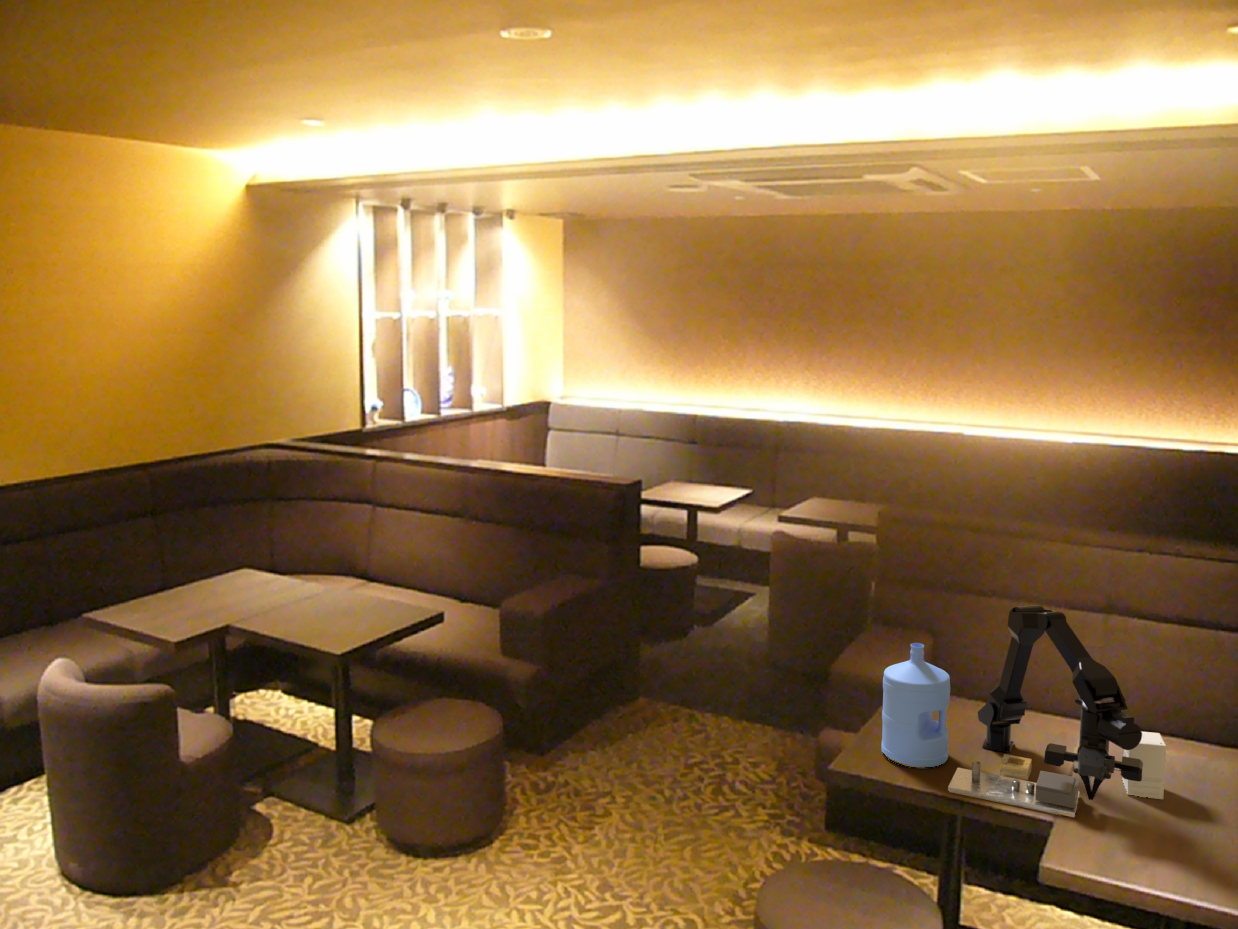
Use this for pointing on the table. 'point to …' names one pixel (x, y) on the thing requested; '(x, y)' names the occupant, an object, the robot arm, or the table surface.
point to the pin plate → (1002, 790)
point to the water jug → (915, 711)
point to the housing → (1057, 789)
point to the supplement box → (1148, 767)
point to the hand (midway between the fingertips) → (1090, 799)
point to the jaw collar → (1015, 767)
